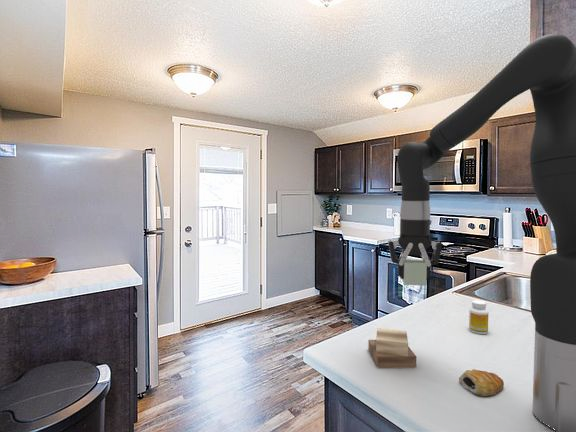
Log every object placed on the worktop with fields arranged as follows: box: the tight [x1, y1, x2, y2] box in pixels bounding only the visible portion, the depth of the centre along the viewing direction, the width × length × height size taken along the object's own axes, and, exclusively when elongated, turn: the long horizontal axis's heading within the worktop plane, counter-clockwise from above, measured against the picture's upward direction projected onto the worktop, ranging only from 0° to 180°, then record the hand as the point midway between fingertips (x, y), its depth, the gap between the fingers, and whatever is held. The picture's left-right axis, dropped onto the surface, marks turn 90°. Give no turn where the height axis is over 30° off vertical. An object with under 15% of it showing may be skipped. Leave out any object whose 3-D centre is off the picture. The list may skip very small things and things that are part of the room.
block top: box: [375, 327, 409, 356], centre depth 89 cm, size 8×8×4 cm
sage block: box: [401, 258, 427, 287], centre depth 89 cm, size 6×6×6 cm
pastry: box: [458, 369, 505, 397], centre depth 75 cm, size 9×7×4 cm
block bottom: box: [367, 339, 417, 369], centre depth 89 cm, size 10×10×4 cm
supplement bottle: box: [468, 299, 489, 335], centre depth 105 cm, size 5×5×10 cm
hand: (413, 278), depth 89 cm, fingers closed on sage block, 5 cm apart
